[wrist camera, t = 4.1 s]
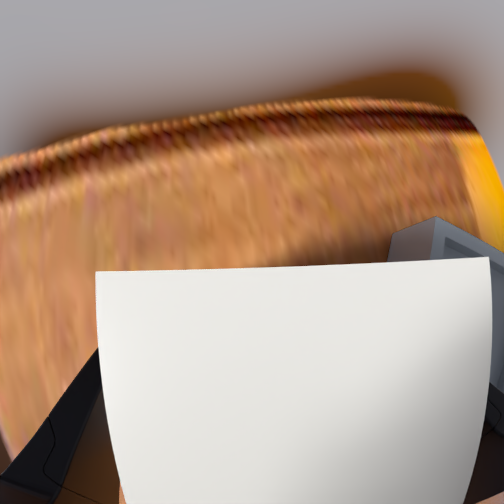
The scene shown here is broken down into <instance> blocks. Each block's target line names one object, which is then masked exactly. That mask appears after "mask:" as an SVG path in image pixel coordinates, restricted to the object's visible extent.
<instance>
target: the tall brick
mask: <svg viewBox="0 0 504 504" xmlns="http://www.w3.org/2000/svg"><path fill="white" fill-rule="evenodd" d="M96 315H97V334H98V348H99V359H100V369H101V378H102V387H103V394H104V401H105V408H106V414H107V420H108V426H109V432H110V437H111V442H112V447H113V452H114V457H115V461H116V466H117V470H118V474H119V478H120V482H121V486H122V490H123V493H124V497H125V500H126V504H463V502H464V499H465V496H466V493H467V490H468V486H469V483H470V480H471V476H472V472H473V469H474V465H475V461H476V457H477V453H478V448H479V444H480V439H481V434H482V429H483V423H484V417H485V411H486V404H487V396H488V388H489V378H490V367H491V350H492V292H491V275H490V263H489V257H476V258H460V259H442V260H425V261H406V262H386V263H365V264H343V265H319V266H294V267H266V268H236V269H201V270H161V271H107V272H96Z"/></svg>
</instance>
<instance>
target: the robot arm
mask: <svg viewBox="0 0 504 504" xmlns="http://www.w3.org/2000/svg"><path fill="white" fill-rule="evenodd" d="M119 487H120V478H119V474H118V470H117V466H116V461H115V457H114V452H113V447H112V442H111V437H110V432H109V426H108V420H107V414H106V408H105V401H104V394H103V387H102V378H101V369H100V359H99V348H97V349H96V351H95V352H94V353H93V354H92V356H91V357H90V358H89V360H88V361H87V362H86V364H85V365H84V366H83V368H82V369H81V370H80V372H79V373H78V375H77V376H76V377H75V379H74V380H73V381H72V383H71V384H70V385H69V387H68V388H67V390H66V391H65V392H64V394H63V395H62V397H61V398H60V399H59V401H58V402H57V404H56V405H55V406H54V408H53V409H52V411H51V412H50V414H49V417H47V418H46V419H45V421H44V422H43V424H42V425H41V426H40V428H39V429H38V431H37V432H36V433H35V435H34V436H33V437H32V439H31V440H30V441H29V442H28V444H27V445H26V446H25V447H24V449H23V450H22V451H21V452H20V453H19V454H18V456H17V457H16V458H15V459H14V460H13V462H12V463H11V464H10V465H9V466H8V468H7V469H6V470H5V471H4V472H3V473H2V474H1V475H0V504H119ZM463 504H504V393H503V392H501V391H500V390H499V389H497V388H496V387H495V386H494V385H493V384H492V383H490V382H489V388H488V396H487V404H486V411H485V417H484V423H483V429H482V434H481V439H480V444H479V448H478V453H477V457H476V461H475V465H474V469H473V472H472V476H471V480H470V483H469V486H468V490H467V493H466V496H465V499H464V502H463Z"/></svg>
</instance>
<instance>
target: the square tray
mask: <svg viewBox="0 0 504 504" xmlns="http://www.w3.org/2000/svg"><path fill="white" fill-rule="evenodd" d="M476 257H489V263H490V275H491V292H492V350H491V367H490V378H489V382H490V383H492V384H493V385H494V386H495V387H496V388H497V389H499V390H500V391H501V392H503V393H504V253H502V252H501V251H499V250H497V249H496V248H494V247H492V246H490V245H489V244H487V243H485V242H483V241H482V240H480V239H478V238H476V237H474V236H473V235H471V234H469V233H467V232H465V231H463V230H462V229H460V228H458V227H456V226H454V225H452V224H450V223H448V222H446V221H444V220H442V219H440V218H438V217H436V216H435V217H433V218H430V219H428V220H425V221H423V222H420V223H418V224H416V225H413V226H411V227H408V228H406V229H403V230H401V231H398V232H396V233H393V234H392V239H391V244H390V249H389V254H388V259H387V262H406V261H425V260H442V259H460V258H476Z"/></svg>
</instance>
